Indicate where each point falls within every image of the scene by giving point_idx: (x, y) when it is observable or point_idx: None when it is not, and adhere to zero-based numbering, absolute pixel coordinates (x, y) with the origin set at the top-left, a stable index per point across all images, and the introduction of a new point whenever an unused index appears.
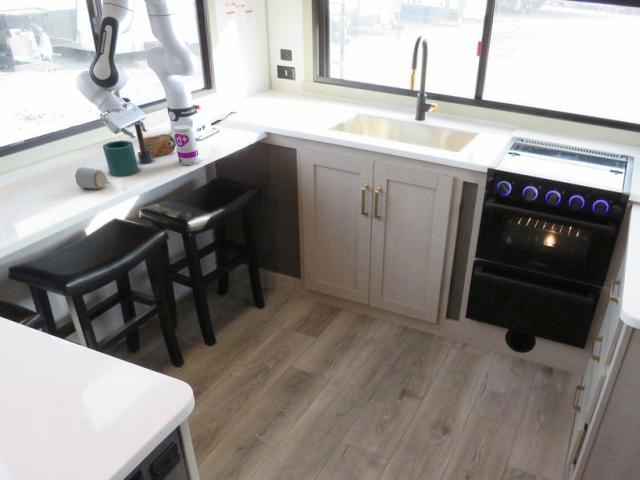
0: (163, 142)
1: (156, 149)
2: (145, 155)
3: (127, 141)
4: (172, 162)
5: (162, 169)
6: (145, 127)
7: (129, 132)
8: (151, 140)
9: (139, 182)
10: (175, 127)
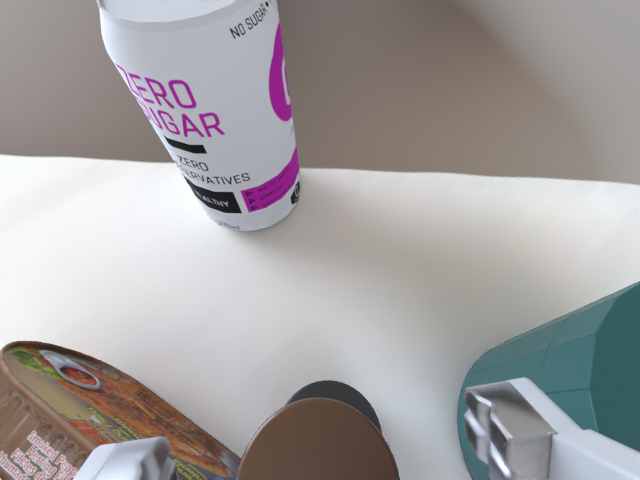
0: (89, 399)
1: (171, 440)
2: (359, 392)
3: (619, 439)
4: (280, 264)
5: (393, 244)
6: (112, 474)
7: (623, 453)
8: None
9: (592, 228)
10: (200, 14)
